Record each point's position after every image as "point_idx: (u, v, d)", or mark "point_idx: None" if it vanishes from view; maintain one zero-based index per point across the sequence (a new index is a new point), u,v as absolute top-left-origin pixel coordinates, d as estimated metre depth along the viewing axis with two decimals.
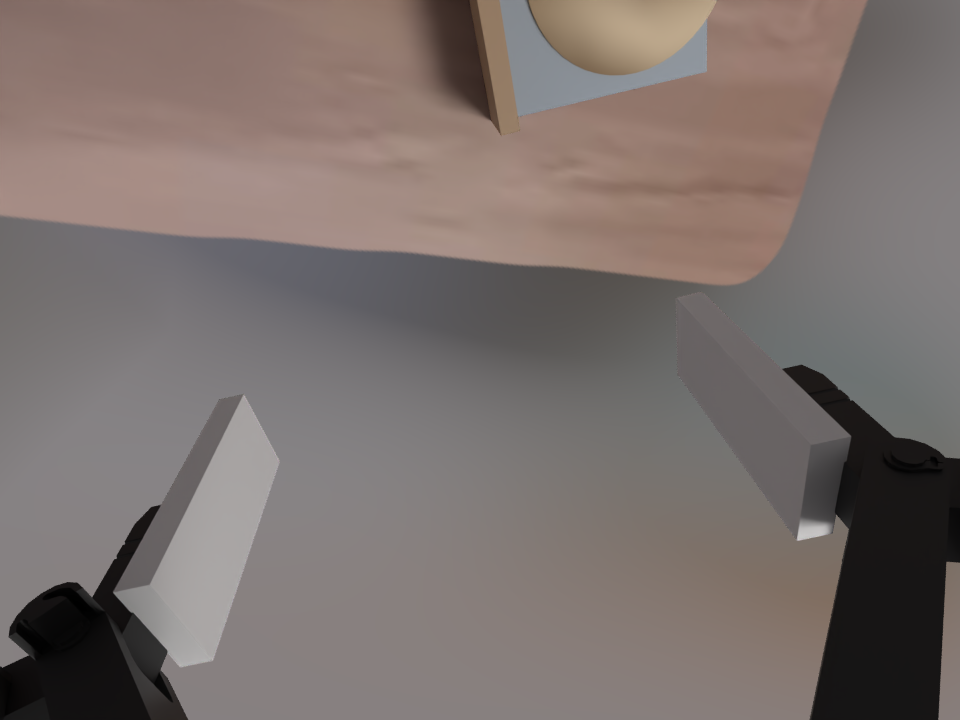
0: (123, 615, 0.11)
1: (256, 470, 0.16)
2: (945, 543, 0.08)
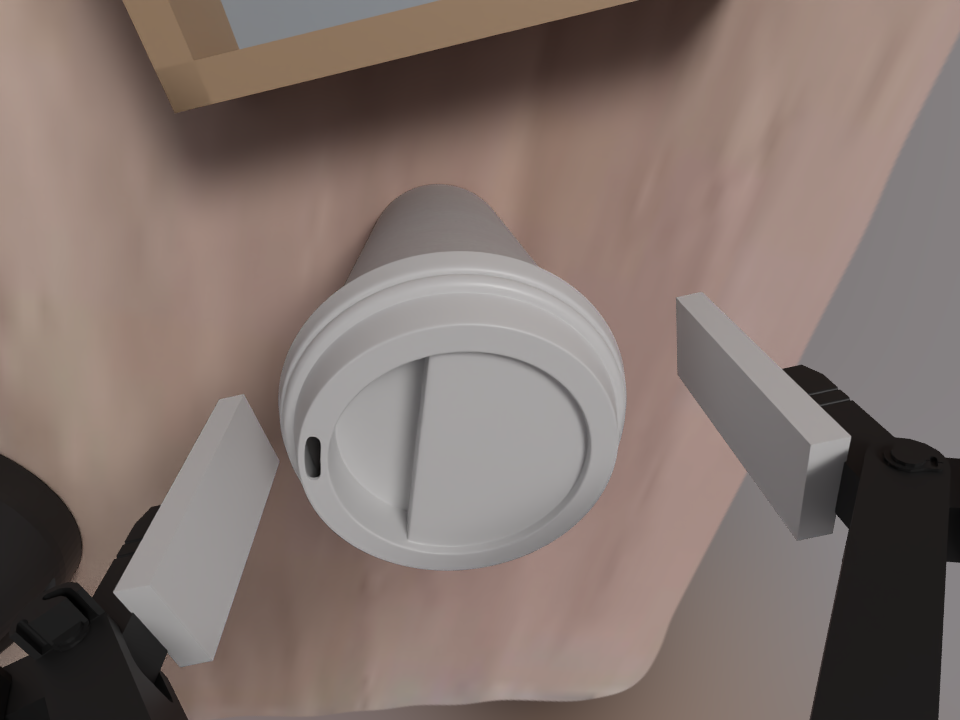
0: (123, 615, 0.11)
1: (256, 470, 0.16)
2: (945, 543, 0.08)
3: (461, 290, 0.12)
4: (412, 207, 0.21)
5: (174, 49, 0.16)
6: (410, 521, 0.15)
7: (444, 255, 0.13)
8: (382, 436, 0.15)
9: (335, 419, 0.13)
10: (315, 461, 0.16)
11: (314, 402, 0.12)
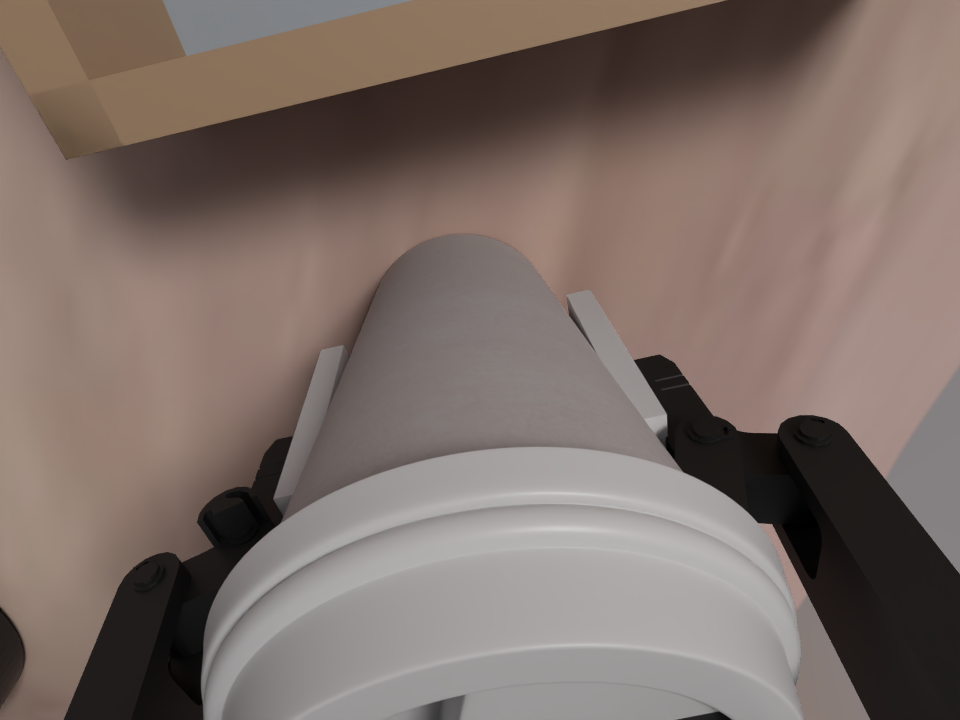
0: (278, 522, 0.12)
1: None
2: (745, 498, 0.10)
3: (533, 546, 0.06)
4: (429, 280, 0.15)
5: (56, 62, 0.10)
6: None
7: (497, 459, 0.07)
8: None
9: None
10: None
11: None
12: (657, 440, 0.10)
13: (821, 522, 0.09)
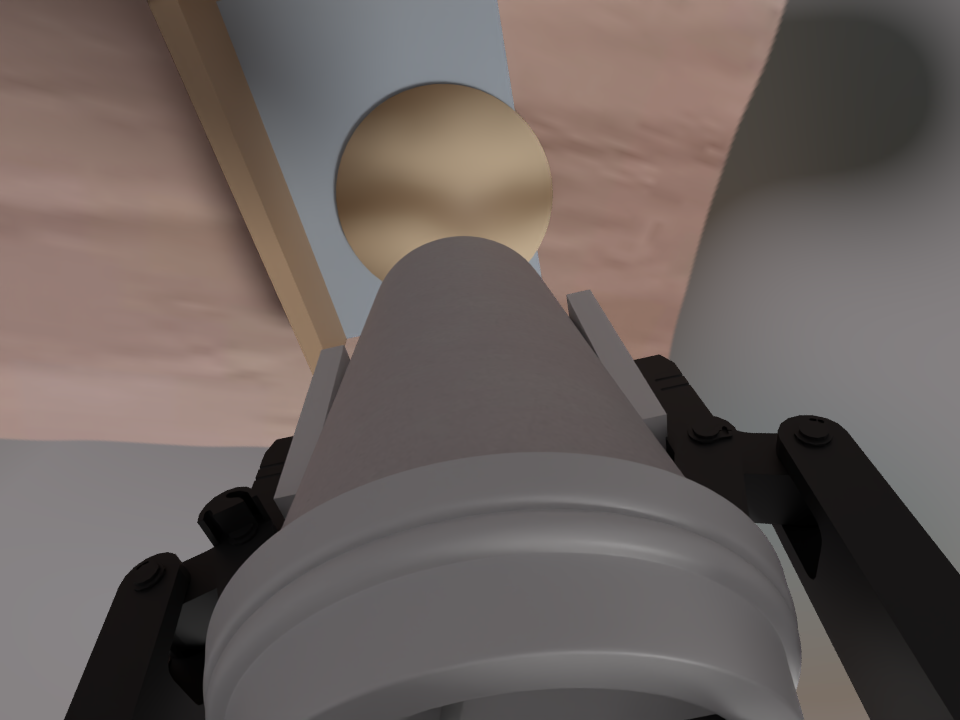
0: (278, 522, 0.12)
1: None
2: (745, 498, 0.10)
3: (535, 551, 0.06)
4: (429, 282, 0.15)
5: None
6: None
7: (498, 464, 0.07)
8: None
9: None
10: None
11: None
12: (658, 443, 0.10)
13: (821, 522, 0.09)
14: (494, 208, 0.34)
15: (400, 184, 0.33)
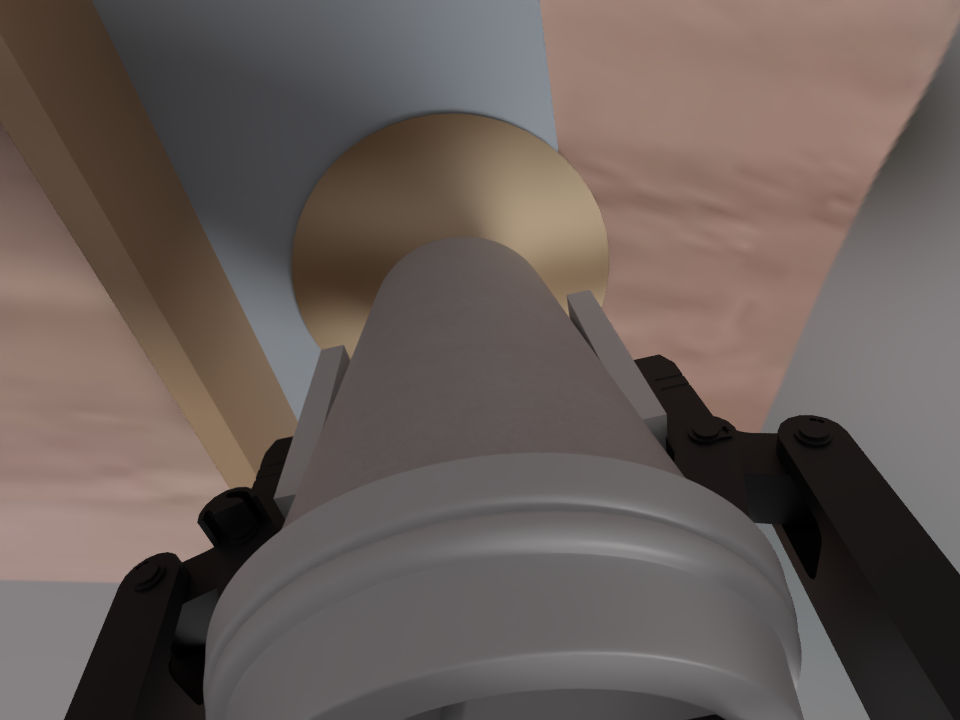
0: (278, 521, 0.12)
1: None
2: (745, 498, 0.10)
3: (535, 552, 0.06)
4: (430, 282, 0.15)
5: None
6: None
7: (499, 465, 0.07)
8: None
9: None
10: None
11: None
12: (658, 444, 0.10)
13: (821, 522, 0.09)
14: None
15: (387, 258, 0.22)
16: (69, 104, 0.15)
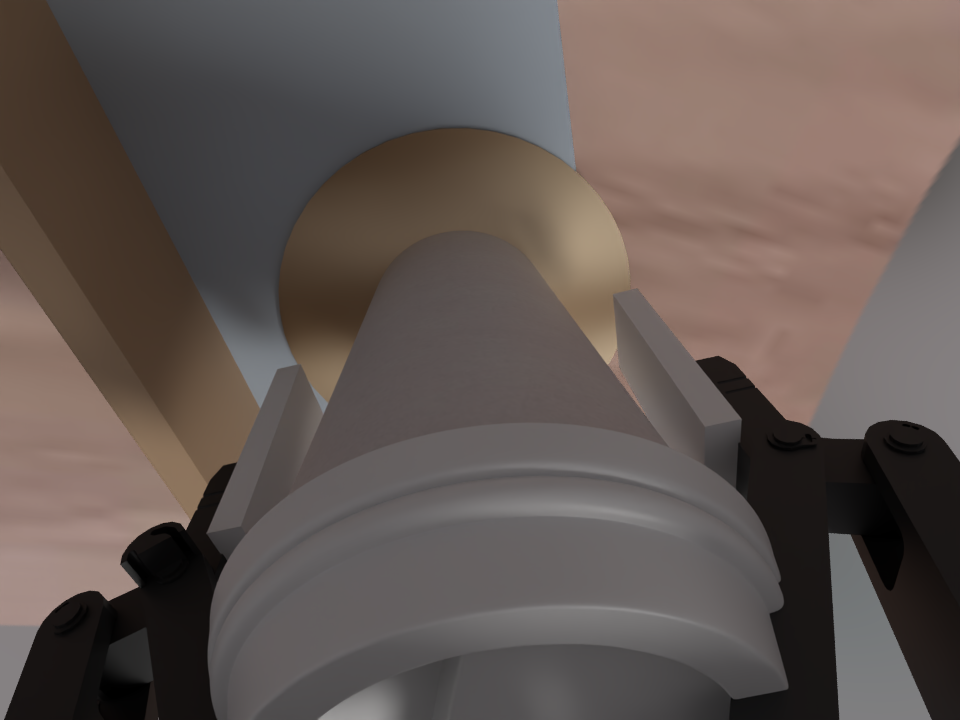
0: (213, 556, 0.12)
1: (313, 436, 0.17)
2: (825, 511, 0.09)
3: (526, 514, 0.07)
4: (428, 273, 0.15)
5: None
6: None
7: (491, 433, 0.07)
8: (382, 692, 0.09)
9: None
10: None
11: None
12: (650, 424, 0.10)
13: (905, 531, 0.09)
14: None
15: None
16: (12, 122, 0.13)
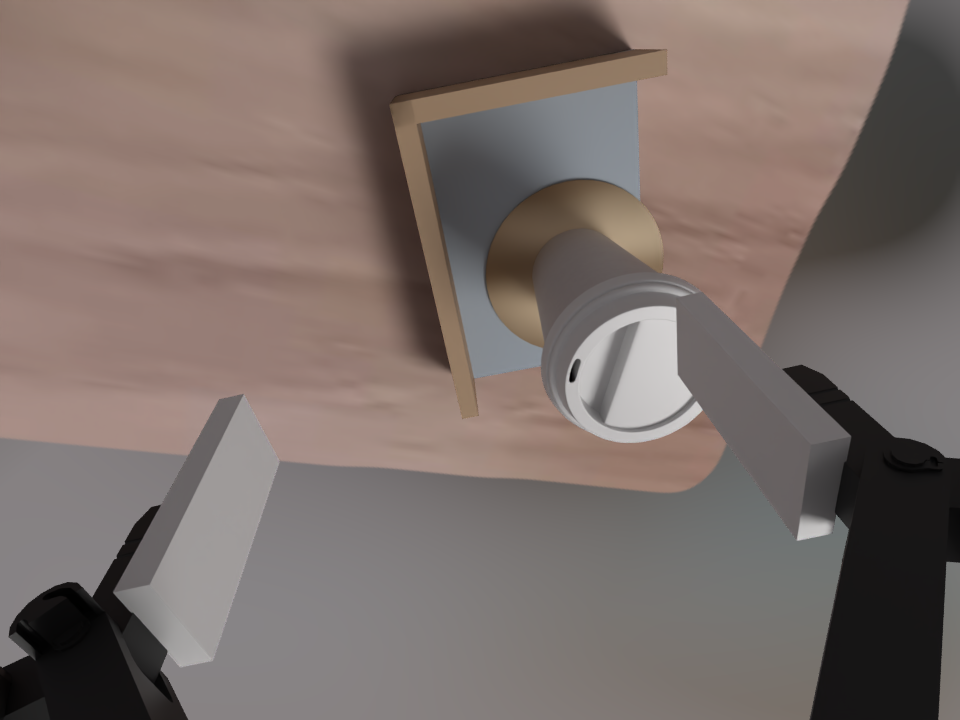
0: (123, 615, 0.11)
1: (256, 470, 0.16)
2: (945, 543, 0.08)
3: (655, 290, 0.26)
4: (581, 244, 0.35)
5: (421, 114, 0.30)
6: (607, 412, 0.28)
7: (644, 274, 0.27)
8: (596, 366, 0.28)
9: (591, 350, 0.26)
10: None
11: (584, 341, 0.26)
12: None
13: None
14: None
15: None
16: (428, 175, 0.33)
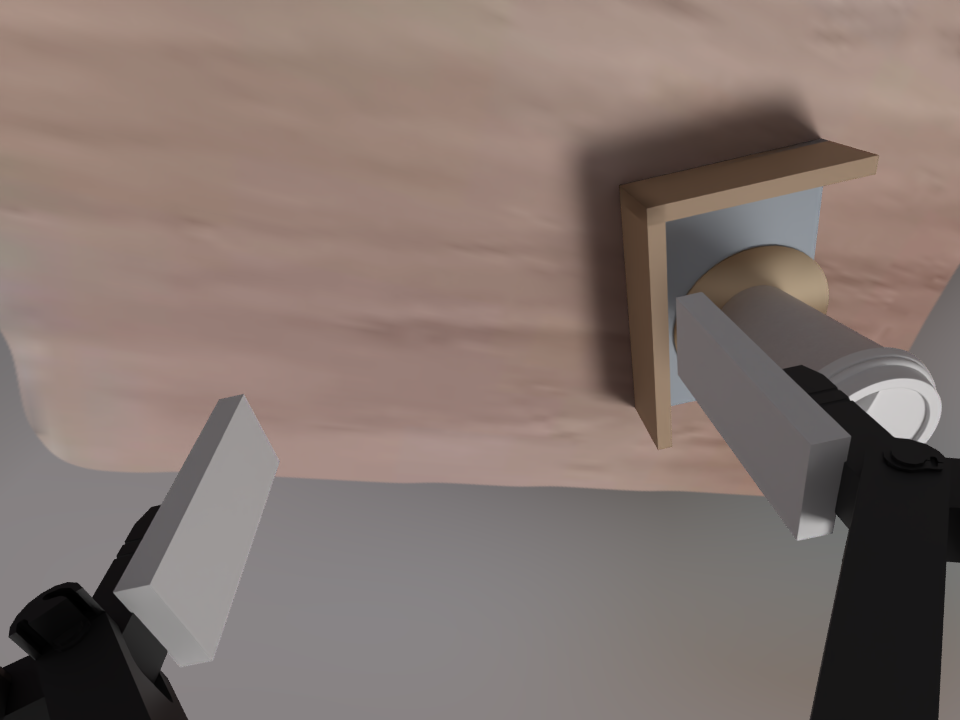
0: (123, 615, 0.11)
1: (256, 470, 0.16)
2: (945, 543, 0.08)
3: (892, 364, 0.33)
4: (779, 306, 0.41)
5: (671, 214, 0.36)
6: None
7: (878, 349, 0.33)
8: None
9: None
10: None
11: None
12: None
13: None
14: None
15: None
16: None
